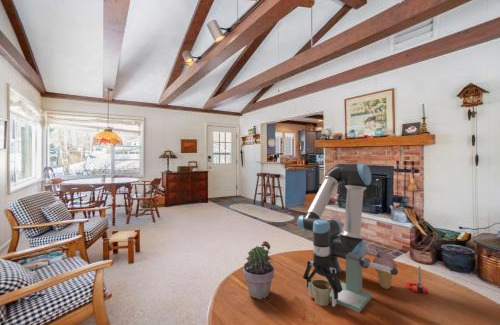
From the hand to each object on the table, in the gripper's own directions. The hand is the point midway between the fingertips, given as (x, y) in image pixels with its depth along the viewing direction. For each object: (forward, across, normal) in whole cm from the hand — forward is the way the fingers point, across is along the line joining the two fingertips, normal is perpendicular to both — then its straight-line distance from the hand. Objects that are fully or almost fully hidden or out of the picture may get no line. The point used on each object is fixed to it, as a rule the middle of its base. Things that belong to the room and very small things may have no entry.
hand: (321, 299), depth 113 cm
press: (+1, +8, +12) cm, 14 cm away
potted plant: (+1, -26, -16) cm, 31 cm away
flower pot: (+1, 0, 0) cm, 1 cm away
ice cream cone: (+1, +17, +35) cm, 39 cm away
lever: (-14, +19, +18) cm, 30 cm away
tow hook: (+1, +29, +44) cm, 53 cm away
